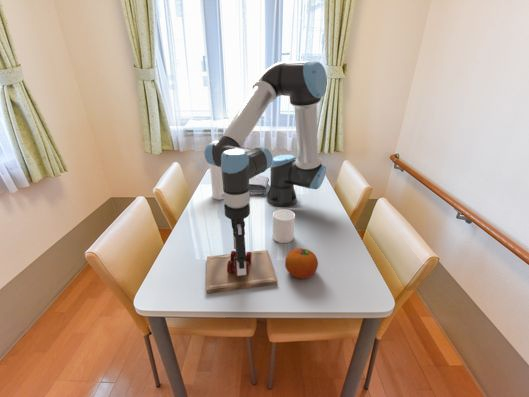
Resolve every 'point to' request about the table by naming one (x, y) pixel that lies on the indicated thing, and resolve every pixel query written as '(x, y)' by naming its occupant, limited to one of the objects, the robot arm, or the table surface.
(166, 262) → the table surface
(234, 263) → the toy fire truck
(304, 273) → the fruit
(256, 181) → the towel
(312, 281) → the table surface
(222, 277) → the board
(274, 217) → the mug
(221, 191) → the bottle
